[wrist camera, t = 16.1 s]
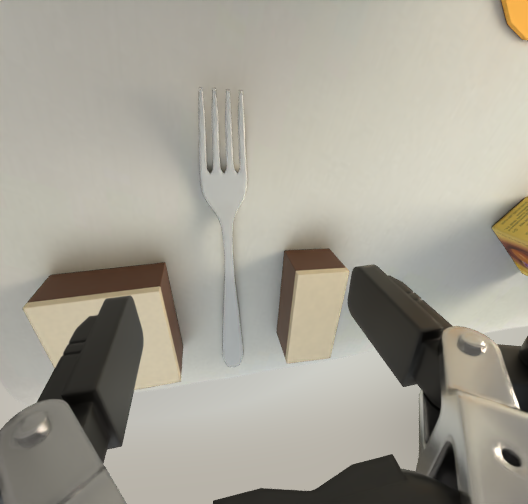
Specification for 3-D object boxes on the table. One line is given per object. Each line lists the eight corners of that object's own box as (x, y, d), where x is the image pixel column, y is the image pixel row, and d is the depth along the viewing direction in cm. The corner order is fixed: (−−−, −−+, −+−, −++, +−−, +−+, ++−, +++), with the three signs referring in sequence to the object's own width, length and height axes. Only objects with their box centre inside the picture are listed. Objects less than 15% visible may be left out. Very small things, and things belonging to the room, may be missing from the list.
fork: (217, 368, 28) (218, 384, 27) (191, 88, 17) (190, 86, 15) (249, 363, 29) (252, 378, 27) (245, 89, 17) (249, 88, 16)
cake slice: (276, 332, 28) (286, 363, 24) (284, 250, 23) (298, 274, 20) (315, 328, 28) (330, 358, 25) (329, 248, 24) (349, 271, 21)
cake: (88, 361, 25) (72, 401, 21) (50, 274, 20) (21, 308, 17) (183, 346, 26) (180, 382, 23) (165, 262, 22) (159, 290, 18)
